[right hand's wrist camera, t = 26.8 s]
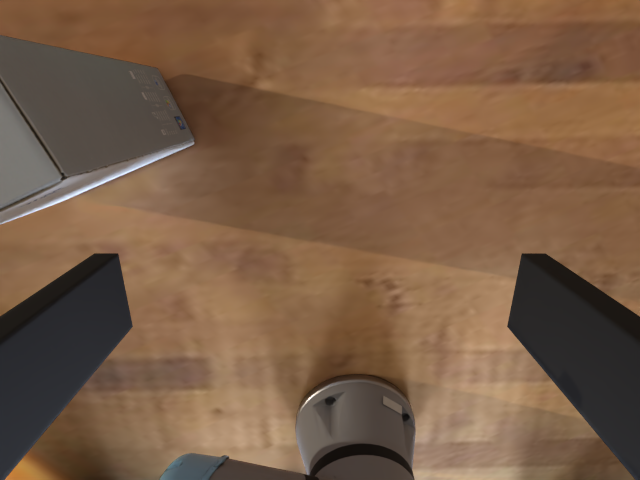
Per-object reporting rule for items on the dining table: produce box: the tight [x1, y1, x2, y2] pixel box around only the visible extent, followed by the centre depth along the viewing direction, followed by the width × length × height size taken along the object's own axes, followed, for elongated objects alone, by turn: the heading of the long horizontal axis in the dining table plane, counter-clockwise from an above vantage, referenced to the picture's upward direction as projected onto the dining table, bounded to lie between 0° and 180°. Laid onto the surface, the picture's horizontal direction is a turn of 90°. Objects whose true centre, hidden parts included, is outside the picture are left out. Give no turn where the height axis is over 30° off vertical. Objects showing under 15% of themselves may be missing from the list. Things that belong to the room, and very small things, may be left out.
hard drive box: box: [0, 35, 195, 224], centre depth 28 cm, size 16×8×20 cm, turn 113°
